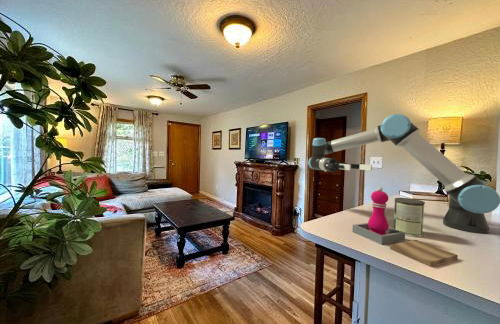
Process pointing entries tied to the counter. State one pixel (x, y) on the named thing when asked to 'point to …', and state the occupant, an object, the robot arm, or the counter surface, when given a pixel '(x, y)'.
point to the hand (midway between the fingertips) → (361, 167)
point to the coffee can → (409, 216)
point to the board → (424, 252)
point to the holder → (390, 237)
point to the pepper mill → (378, 213)
